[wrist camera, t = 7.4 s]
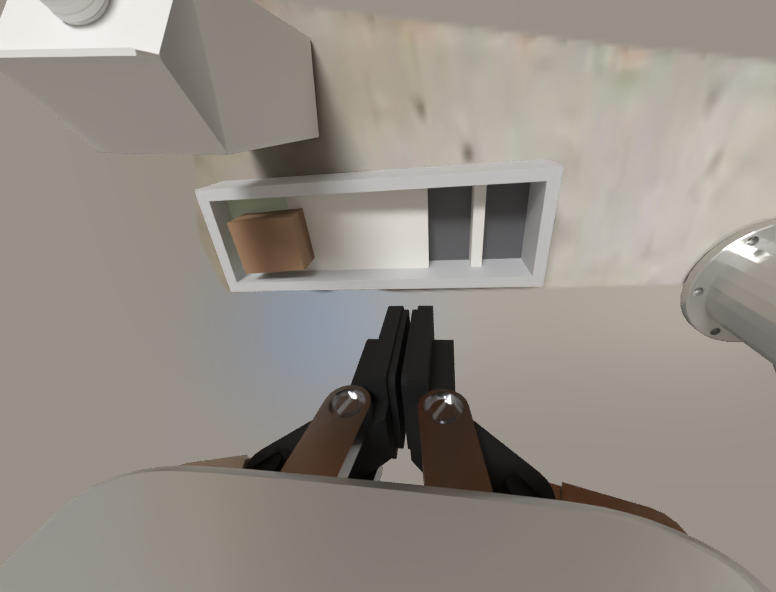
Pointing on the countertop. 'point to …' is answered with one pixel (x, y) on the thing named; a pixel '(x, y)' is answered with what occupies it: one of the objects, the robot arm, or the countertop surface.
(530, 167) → the box
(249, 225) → the block
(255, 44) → the milk carton
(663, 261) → the countertop surface
